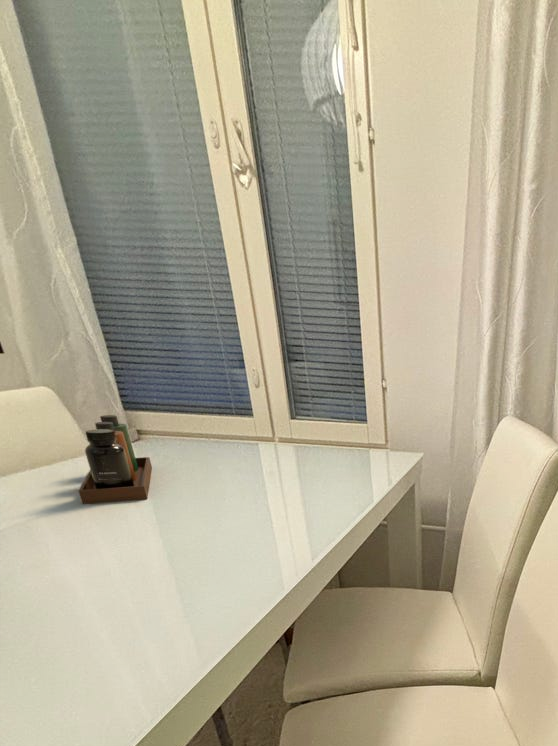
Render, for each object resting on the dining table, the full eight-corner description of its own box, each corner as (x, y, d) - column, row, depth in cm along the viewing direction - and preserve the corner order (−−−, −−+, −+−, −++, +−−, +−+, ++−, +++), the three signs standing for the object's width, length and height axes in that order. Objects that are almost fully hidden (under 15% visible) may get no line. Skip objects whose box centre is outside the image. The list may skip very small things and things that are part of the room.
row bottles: (103, 484, 118) (85, 425, 112) (110, 468, 130) (94, 414, 124) (135, 482, 120) (119, 424, 114) (139, 466, 133) (124, 413, 127)
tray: (82, 504, 107) (78, 491, 106) (98, 471, 130) (95, 460, 129) (147, 499, 112) (143, 486, 110) (152, 467, 134) (149, 457, 133)
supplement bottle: (108, 497, 110) (88, 435, 104) (91, 492, 113) (71, 430, 107) (142, 491, 115) (125, 430, 109) (125, 485, 118) (107, 426, 112)
